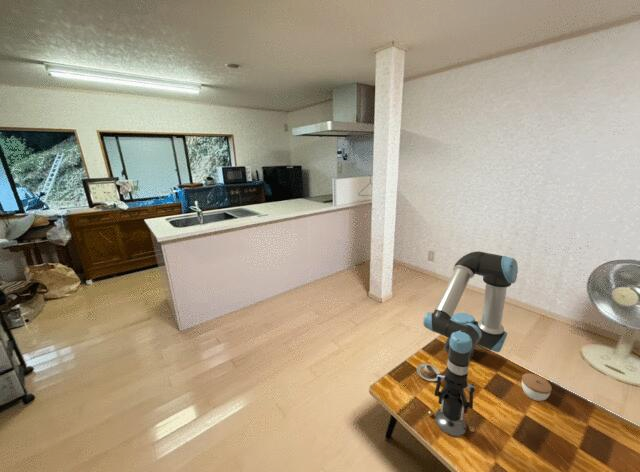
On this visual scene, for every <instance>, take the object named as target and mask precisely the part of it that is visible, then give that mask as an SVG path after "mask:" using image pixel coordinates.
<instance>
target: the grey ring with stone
mask: <svg viewBox="0 0 640 472" xmlns="http://www.w3.org/2000/svg"><path fill="white" fill-rule="evenodd" d="M416 373H417V374H418V376H419V377H421V379H424V380H425V381H428V382H438V380H437V376H438V374H441V375H442V373H441V372H440V370H439V368H437V367H436V366H435V365H433V364H430V363H420V364H418V365H417V367H416ZM435 375H436V376H435Z"/></svg>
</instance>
